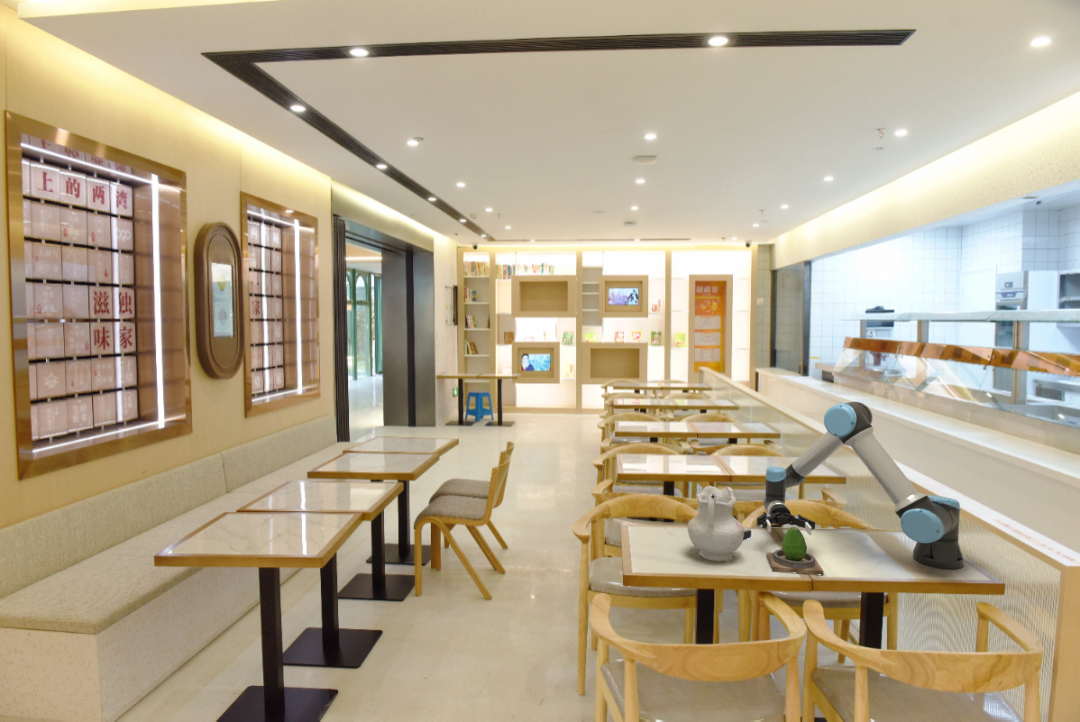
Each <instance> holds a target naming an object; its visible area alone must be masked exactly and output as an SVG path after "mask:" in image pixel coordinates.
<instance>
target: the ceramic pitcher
mask: <svg viewBox="0 0 1080 722" xmlns="http://www.w3.org/2000/svg"><path fill="white" fill-rule="evenodd" d="M695 498H696V500H697V503H698V508H699V511H698V513H697V515H695V516H693V517H692V518H691V519H690V520H689V521H688V524H687V533H688V538H689V540H690V542H691V543H692V545H693V546H694V547H695V548H697V549H698V550H699V552H698V553H697V555H699V556H701V557H702V558H703V559H705V560H706V561H713V562H725V561H731V559H733V555H732V553H734V552H735V551H737V550H738V549H739V548H740V546H741V545H742V543H743V541H744V540H743V537H744V529H743V525H742V523H741V522H740V521H739V520H737V518H735V517H734V516H733V510H734V506H735V504H736V502H737V498H736V497H735V493H734V489H733V488H732V487H731V486H727V485H725V486H724V488H723V489H719V488H718V487H716V486H712V485H706V486H705V487H704V488H703V489H702V490H701V491H700V493H696V495H695Z"/></svg>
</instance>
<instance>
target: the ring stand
mask: <svg viewBox="0 0 1080 722" xmlns="http://www.w3.org/2000/svg"><path fill="white" fill-rule="evenodd" d="M765 554H766V561H768V564H769V566H770V569H771V570H772V571H771V572H774V573H775V572H777V573H787V572H796V573H795V574H799V573H806V574H805V575H811V574H821V575H820V576H824V573H825V572H824V570H823V568H822V567H821V565H820V564H819V562H818V560H817V559H816V557H815V555H813V554H811V553H809V552H808V551H807V552H806V554H805V557H804V558H803V559H802V560H800V561H790V560H788V559H787V558H786V557H785V556H784V553H783V549H782V548H781V549H777V550H775V551H773V552H766V553H765Z"/></svg>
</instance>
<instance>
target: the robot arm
mask: <svg viewBox="0 0 1080 722" xmlns="http://www.w3.org/2000/svg"><path fill="white" fill-rule="evenodd" d="M872 422H873V414H872V410H871V409H870V408H869V407H868V406H867V405H866V404H864V403H862V402H860V401H850V402H844V403H843V402H840V403H837V404H835V405H831V407H829V408H828V409H827V410H826V412H825V414H824V416H823V425H824V427H825V430H826V432H825V433H824V434H823V435H821V437H819V438H818V439H817V440H816V441H815V442H814V443H812V445H810V446H809V447H808V448H807V449H806V450H805V451H804V452H802V453H801V455H799V456H798V457H797V458H796V459H795V460H794V461H793V462H792V463H791V464H790V465H788V466H787V467H786V468H784V467H781V466H768V467H767V468H766V470H765V471H766V472H765V494H764V496H765V497H764V499H763V506H764V509H765V511H764V512H762V514H761V515H759V516H758V517H757V518H756V525H757V526H762V527H761V528H762V529H766V530H767V532H768V533H769V534H770V533H772V525H778V526H785V525H790V526H794V525H795V526H797V527H801V528H803V529H804V530H805V532H806V533H807V535H808V536H812V531H813V530H815V529H816V522H815V521H814V520H812V519H809V518H807V517H804V516H802V515H801V514H797V515H796V516H795V515H793V514H792V513H791V511H790V509H789V507H788V506H787V505H786V489H789V488H792V487H796V486H799V485H801V484H802V483H804V481H805V479H806V478H807V476H808V475H810V474H811V473H812V472H814V471H815V470H816V469H817V468H818V467H819V466H820V465H822V464H823V463H824V462H825V461H826V460H827V459H828V458H830V457H831V456H832V455H833V454H834V453H835V452H837V451H838V450H839V449H840V448H841V447H842V446H847V447H850V448H852V450H853V452H854V453H855V454H856V455H857V456H858V458H859V459H860V460H861V462H862V463H863V465H865V467H866V468H867V470H868V471H869V473H870V474H871V475H872V476H873V478H874V479H875V480H876V481H877V483H878V484H879V486H881V488H882V490H883V491H884V492H885V493H886V495H887V496H888V497H889V498H890V500H891V501H892V503H893V504H894V506H895V508H894V512H895V514H896V515H897V517H898V518H899V519H900V527H901V530H902V532H903V533H904V534H905V535H906V537H908V539H910V540H912V541H913V542H916V543H915V545H914V548H913V550H912V558H913V559H914V560H915V561H917V562H918V563H921V564H924V565H927V566H930V567H934V568H940V569H945V570H946V569H947V570H948V569H949V570H956V569H957V570H958V569H961V568H963V567H964V561H965V560H964V557H963V553H962V550H961V547H960V543H959V538H960V537H959V533H960V531H959V530H960V515H961V514H960V513H961V506H960V505H961V503H960V502H959V501H958V499H954V498H951V497H948V496H947V497H946V496H940V495H935V494H926V493H921V492H919V491H918V490H917V488H916V487H915V486H914V485H913V483H912V482H911V481H910V480H909V478H908V477H907V476H906V474H904V472H903V471H902V469H901V468H900V467H899V465H898V464H897V463H896V462H895V461H894V459H893V458H892V456H891V455H890V454H889V453H888V452H887V450H886V449H885V448H884V447H883V445H882V444H881V443H880V442H879V440H878V439H877V438H876V436H875V435H874V433H873V432H874V427H873V426H872Z"/></svg>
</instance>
